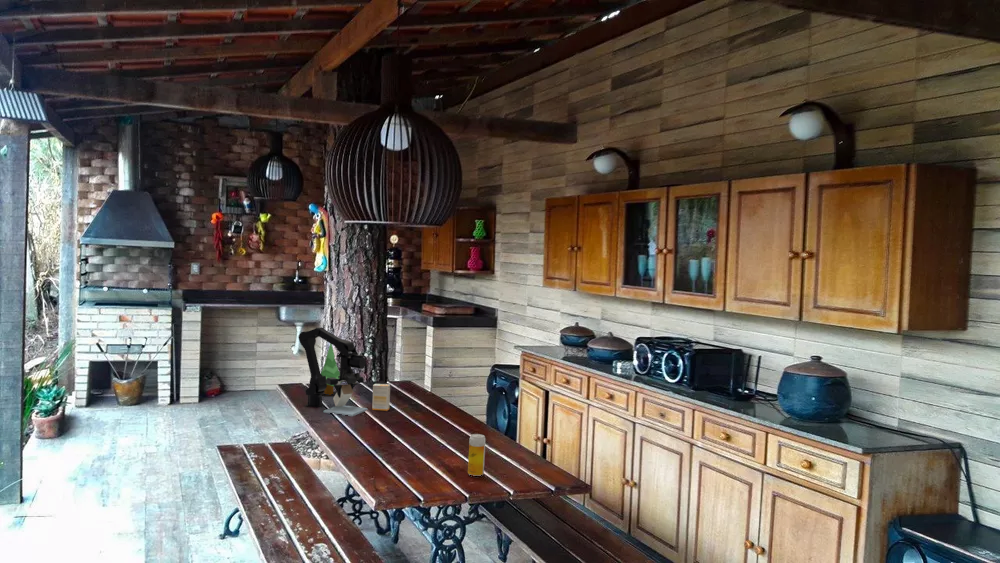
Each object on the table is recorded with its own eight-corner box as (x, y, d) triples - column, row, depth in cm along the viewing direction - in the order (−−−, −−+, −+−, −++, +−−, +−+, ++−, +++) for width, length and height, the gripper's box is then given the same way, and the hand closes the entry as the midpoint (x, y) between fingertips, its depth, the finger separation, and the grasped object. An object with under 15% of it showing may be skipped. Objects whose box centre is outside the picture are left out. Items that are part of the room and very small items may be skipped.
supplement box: (389, 409, 378) (390, 384, 377) (387, 411, 373) (388, 385, 372) (374, 408, 378) (375, 383, 378) (371, 409, 374) (372, 384, 373)
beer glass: (467, 472, 277) (469, 433, 276) (483, 472, 277) (485, 434, 277) (467, 477, 271) (470, 437, 270) (484, 477, 271) (486, 438, 271)
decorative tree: (332, 390, 417) (334, 339, 416) (346, 395, 405) (348, 342, 404) (310, 393, 408) (313, 340, 406) (324, 398, 396) (327, 343, 395)
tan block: (332, 398, 373) (341, 385, 366) (341, 397, 376) (350, 384, 369) (335, 406, 370) (344, 393, 363) (344, 405, 373) (353, 392, 366)
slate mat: (323, 412, 362) (323, 410, 362) (339, 406, 377) (340, 404, 377) (352, 416, 357) (352, 414, 357) (367, 410, 372) (367, 408, 372)
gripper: (336, 370, 356) (334, 401, 356) (369, 367, 368) (368, 398, 368) (325, 366, 364) (324, 397, 365) (359, 364, 376) (357, 394, 377)
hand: (344, 397), depth 368 cm, fingers closed on tan block, 5 cm apart
